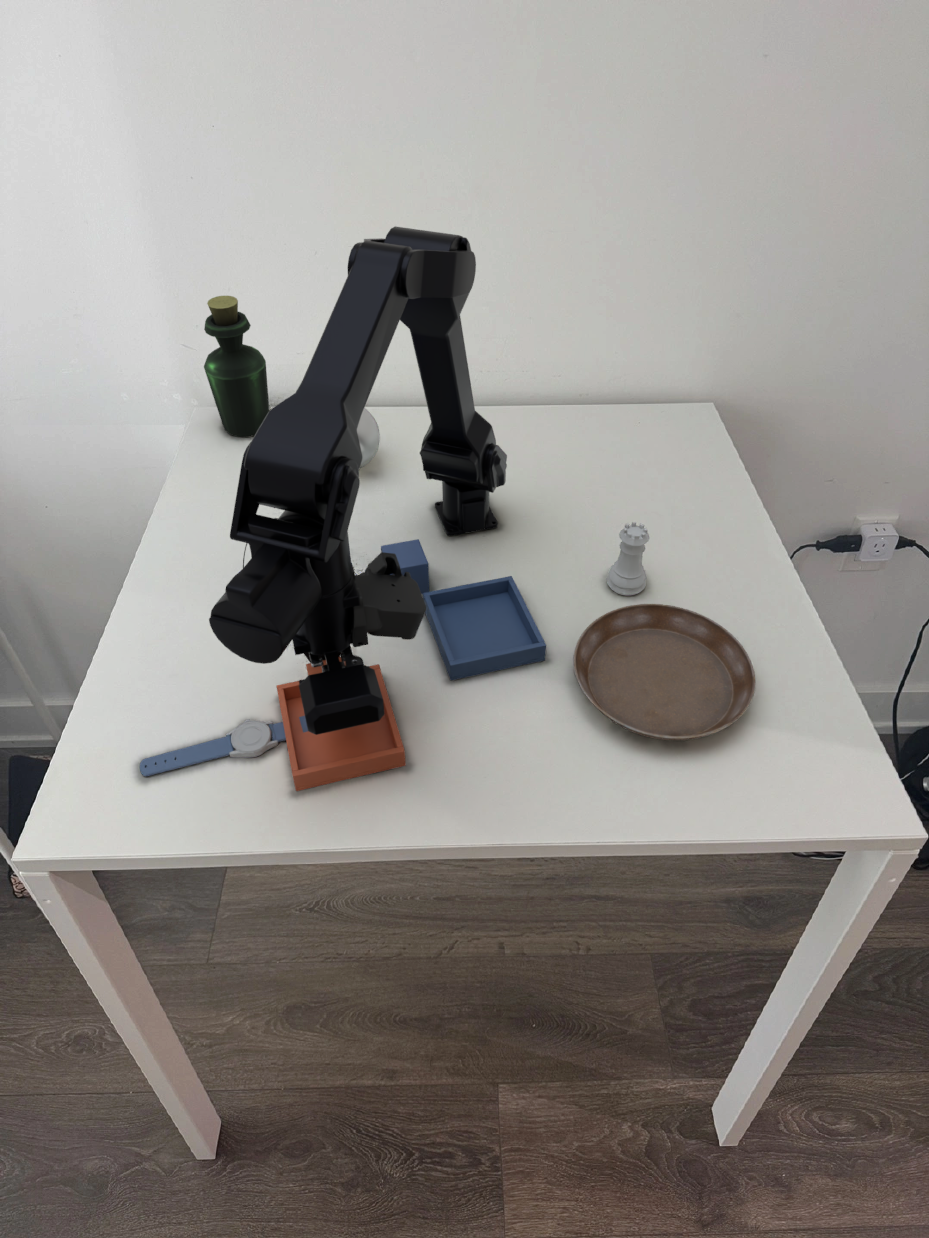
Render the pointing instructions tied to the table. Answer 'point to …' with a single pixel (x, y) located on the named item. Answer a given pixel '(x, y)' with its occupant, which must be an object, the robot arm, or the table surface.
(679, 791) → the table surface
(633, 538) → the rook chess piece
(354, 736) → the clay tray
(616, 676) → the plant saucer
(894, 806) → the table surface
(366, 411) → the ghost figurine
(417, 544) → the slate block
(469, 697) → the table surface
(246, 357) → the potion bottle
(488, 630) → the slate tray
